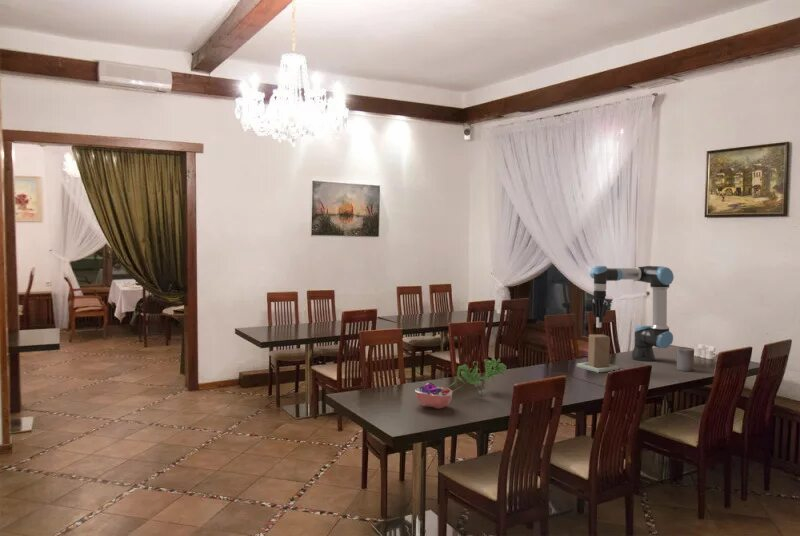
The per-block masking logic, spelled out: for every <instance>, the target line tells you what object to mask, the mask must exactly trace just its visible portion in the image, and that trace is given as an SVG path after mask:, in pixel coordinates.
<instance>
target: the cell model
mask: <svg viewBox="0 0 800 536" xmlns="http://www.w3.org/2000/svg"><path fill="white" fill-rule="evenodd" d="M414 392H415V394H416V399H417V400H418V402H419V404H420V405H422V406H423V407H426V408H427V407H428V408H434V409H438V410H439V409H442V408H445V407H448V406H449V404H450V403H451V401H452V398H453V397H452V396H453V392H454V390H452V389H450V388H448V387H443V386H437V385H436V386H435V384H433V383H432V382H427V383H425V384H424V386H419V387H417V388H415V389H414Z"/></svg>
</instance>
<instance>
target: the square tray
mask: <svg viewBox="0 0 800 536" xmlns="http://www.w3.org/2000/svg"><path fill="white" fill-rule="evenodd" d="M576 367H577V368H579V369H583V370H586V371H591V372H595V373H599V372H600V373H604V372H612V371H613V370H615V371H619V370H618V369H620V366H618V365H614V364H610V363H609V367H604V368H595V367H592V366H589V365H588V361H587V362H579V363H578V362H577V363H576ZM600 373H599V374H600Z"/></svg>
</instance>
